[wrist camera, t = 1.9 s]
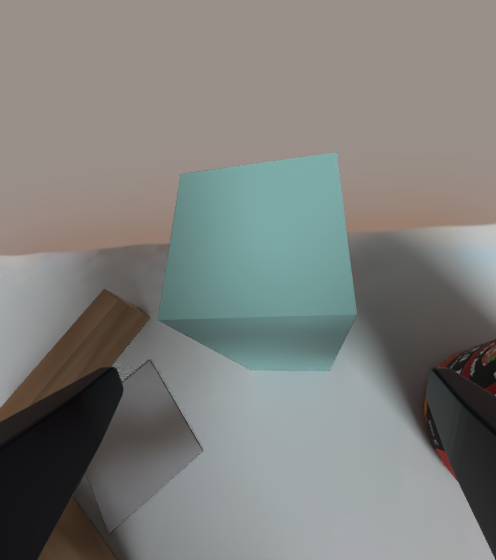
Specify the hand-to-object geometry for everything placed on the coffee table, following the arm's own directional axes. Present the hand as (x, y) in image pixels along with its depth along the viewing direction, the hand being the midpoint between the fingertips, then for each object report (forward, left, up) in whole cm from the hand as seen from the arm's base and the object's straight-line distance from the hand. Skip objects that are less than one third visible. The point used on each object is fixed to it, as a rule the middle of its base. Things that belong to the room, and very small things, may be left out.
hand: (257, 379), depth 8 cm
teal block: (+2, -3, -11) cm, 11 cm away
